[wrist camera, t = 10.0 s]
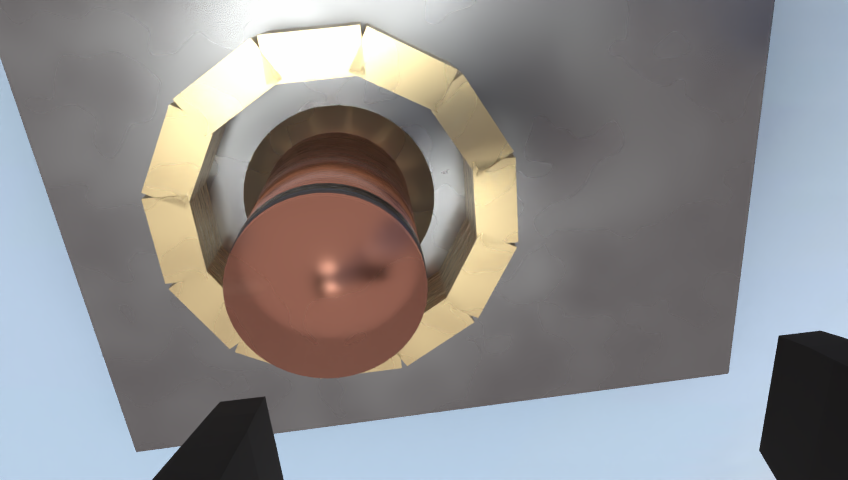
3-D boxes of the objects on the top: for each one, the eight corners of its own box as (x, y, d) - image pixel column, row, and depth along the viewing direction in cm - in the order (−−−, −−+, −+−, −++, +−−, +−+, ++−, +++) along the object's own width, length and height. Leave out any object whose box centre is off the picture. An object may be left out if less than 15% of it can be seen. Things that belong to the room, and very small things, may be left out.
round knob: (433, 169, 15) (464, 246, 11) (373, 287, 16) (376, 404, 12) (298, 106, 14) (267, 160, 10) (243, 236, 15) (192, 339, 11)
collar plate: (771, -150, 14) (847, -177, 12) (714, 358, 19) (759, 405, 17) (-26, -80, 13) (-105, -95, 11) (145, 433, 18) (115, 493, 16)
